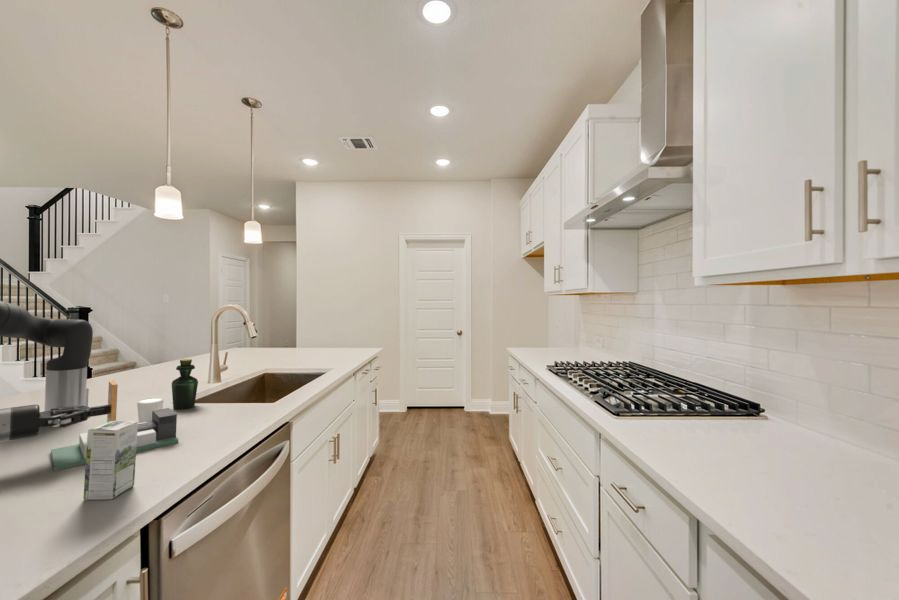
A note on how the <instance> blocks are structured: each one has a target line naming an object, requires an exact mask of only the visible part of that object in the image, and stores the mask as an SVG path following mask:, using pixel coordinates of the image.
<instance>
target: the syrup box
mask: <svg viewBox="0 0 899 600" xmlns="http://www.w3.org/2000/svg"><path fill="white" fill-rule="evenodd" d="M138 423H139V421H132V420H116V421H111V422H108V423H107V422H106V423H104V424H101V425H99V426H96V427H93V428H91V429H88V431H87V433H88V436H87V451H86V464H85V469H84V470H85V471H84V482H83V483H84V485H83V486H84V487H83V500H84V501H85V500H86V501H90V500H91V501H92V500H93V501H100V500H101V501H102V500H103V501H105V500H114V499H115V498H117V497H118V496H120V495H122V494H123V493H124V492H126V491H128V490H129V489H131V488H132V487H134V486H135V477H136V476H135V475H136V460H137V452H136V446H137V429H138Z"/></svg>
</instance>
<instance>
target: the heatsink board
mask: <svg viewBox="0 0 899 600" xmlns="http://www.w3.org/2000/svg"><path fill="white" fill-rule="evenodd" d="M177 419H178V414H177V413H176V412H175V411H173V410H172V409H171V408H170V407H168V408H167V407H166V408H162V409H160V410H154V411H152V422H153V421H156V422H157V423H158V427H153V428H147V429H142V430H137V446H136V453H138V452H143V451H146V450H151V449H155V448H156V449H157V448H160V447H165V446H169V445H174V444H178V443H179V438H178V437H177V423H178V422H177ZM143 423H147V422H143ZM138 424H142V423H139V422H138ZM87 436H88V432H83V433H79V443H77V444H74V445H73V444H72V445H67V446H62V447H56V448H53V449H52V448H51V450H50V453H51V455H50V456H51V460H52V463H53V464H52V465H53V469H54V471H58V470H59V471H60V470H63V469H68V468H72V467H76V466H81V465H86V451H87Z"/></svg>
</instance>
